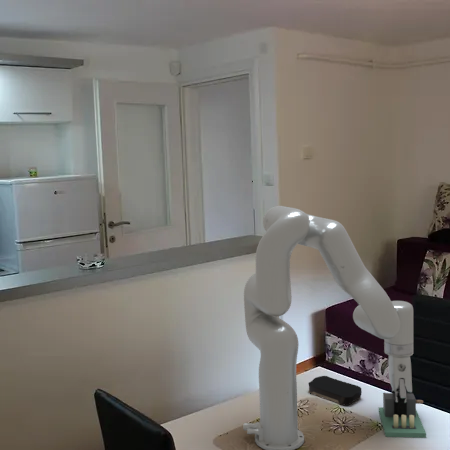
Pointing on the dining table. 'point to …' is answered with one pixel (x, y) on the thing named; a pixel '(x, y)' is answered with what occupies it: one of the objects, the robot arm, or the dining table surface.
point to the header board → (402, 425)
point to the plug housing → (389, 404)
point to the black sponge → (334, 390)
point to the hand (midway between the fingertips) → (399, 411)
